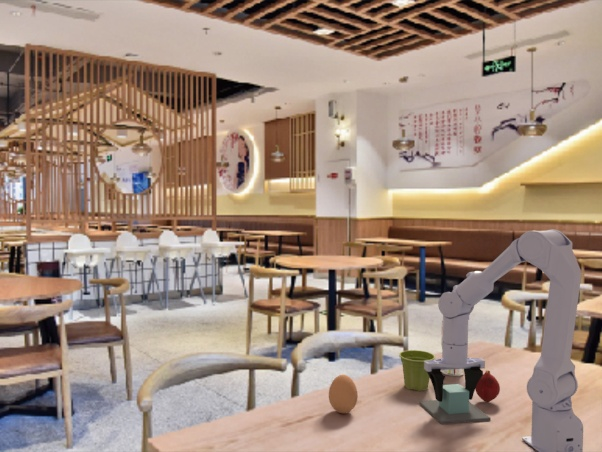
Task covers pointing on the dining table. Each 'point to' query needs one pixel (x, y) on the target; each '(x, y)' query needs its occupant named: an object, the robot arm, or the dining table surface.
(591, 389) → the dining table surface
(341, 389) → the egg
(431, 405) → the mat
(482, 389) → the onion
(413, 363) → the plant pot
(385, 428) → the dining table surface
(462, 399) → the cube
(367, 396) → the dining table surface
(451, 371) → the beer glass
